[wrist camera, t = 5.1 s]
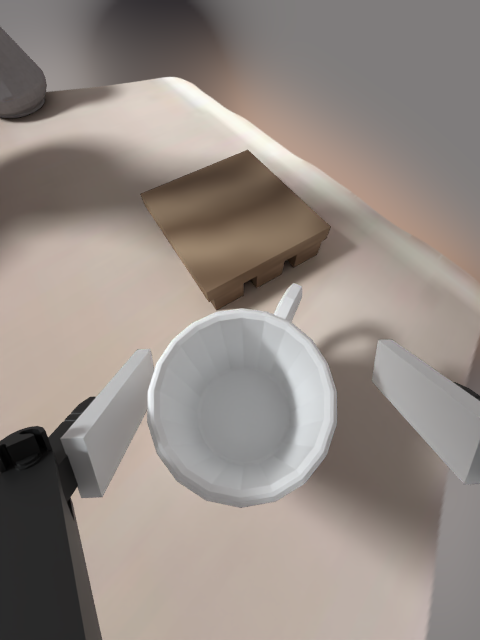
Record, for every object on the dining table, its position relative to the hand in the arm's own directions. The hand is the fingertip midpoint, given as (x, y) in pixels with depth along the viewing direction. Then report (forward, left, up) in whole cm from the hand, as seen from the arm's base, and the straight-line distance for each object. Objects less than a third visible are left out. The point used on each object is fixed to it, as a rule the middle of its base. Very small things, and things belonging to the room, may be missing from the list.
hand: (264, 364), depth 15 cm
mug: (0, 0, -7) cm, 7 cm away
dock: (-15, +7, -6) cm, 17 cm away
